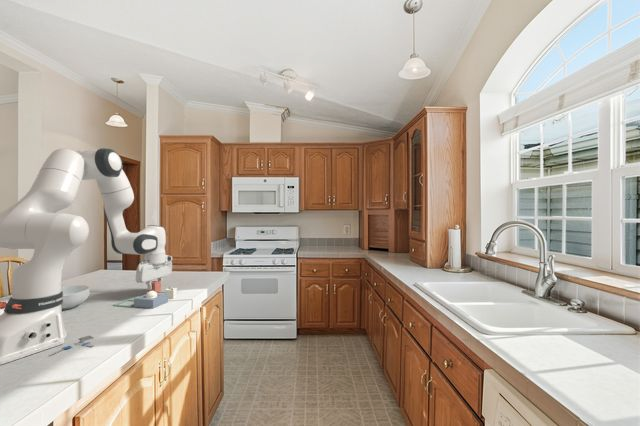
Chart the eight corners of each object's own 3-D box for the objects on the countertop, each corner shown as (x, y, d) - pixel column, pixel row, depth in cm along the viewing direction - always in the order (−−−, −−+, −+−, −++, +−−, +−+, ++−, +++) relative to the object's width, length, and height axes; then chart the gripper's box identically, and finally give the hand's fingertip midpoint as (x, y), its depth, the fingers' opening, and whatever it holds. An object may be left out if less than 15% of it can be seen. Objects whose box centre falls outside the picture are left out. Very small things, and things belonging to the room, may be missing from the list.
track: (130, 307, 127) (130, 306, 127) (112, 305, 128) (112, 304, 128) (168, 293, 149) (168, 292, 149) (152, 291, 151) (152, 291, 151)
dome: (152, 304, 128) (152, 292, 128) (143, 304, 129) (143, 291, 129) (159, 301, 133) (159, 289, 133) (150, 301, 134) (150, 289, 134)
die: (173, 298, 140) (173, 288, 140) (164, 298, 139) (164, 288, 139) (176, 296, 144) (176, 286, 144) (167, 296, 143) (168, 286, 143)
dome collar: (153, 308, 126) (153, 300, 126) (133, 306, 127) (134, 298, 127) (167, 302, 135) (167, 294, 135) (149, 300, 136) (149, 292, 136)
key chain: (83, 337, 98) (83, 334, 98) (110, 336, 98) (110, 334, 98) (47, 357, 84) (47, 354, 84) (79, 357, 84) (79, 354, 84)
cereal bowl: (44, 304, 129) (44, 287, 129) (93, 299, 136) (93, 283, 136) (29, 316, 114) (29, 297, 114) (84, 311, 121) (85, 293, 121)
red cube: (155, 292, 144) (155, 283, 144) (147, 292, 144) (147, 282, 144) (160, 290, 148) (161, 281, 148) (153, 290, 148) (153, 280, 148)
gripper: (144, 262, 135) (143, 294, 135) (174, 256, 155) (174, 283, 155) (132, 262, 136) (131, 293, 136) (163, 255, 156) (163, 283, 156)
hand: (154, 288), depth 146 cm, fingers closed on red cube, 4 cm apart
